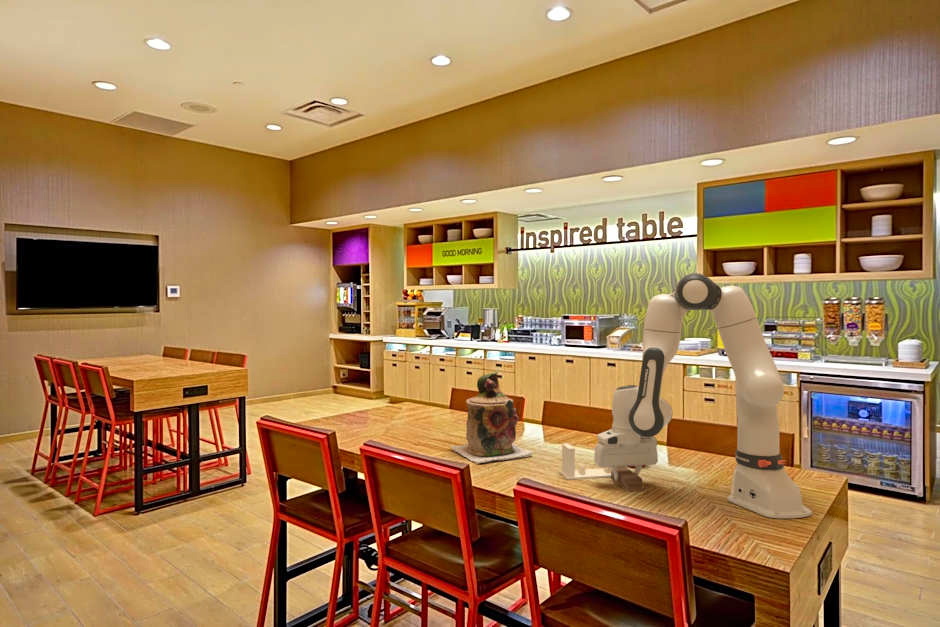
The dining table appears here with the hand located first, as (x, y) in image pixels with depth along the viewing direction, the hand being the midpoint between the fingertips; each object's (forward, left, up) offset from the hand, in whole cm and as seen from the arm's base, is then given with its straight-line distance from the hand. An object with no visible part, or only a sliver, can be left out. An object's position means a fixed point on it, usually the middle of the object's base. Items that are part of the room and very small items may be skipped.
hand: (626, 479), depth 187 cm
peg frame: (+12, +6, -2) cm, 14 cm away
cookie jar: (+45, +35, -2) cm, 57 cm away
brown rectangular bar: (0, 0, -2) cm, 2 cm away
